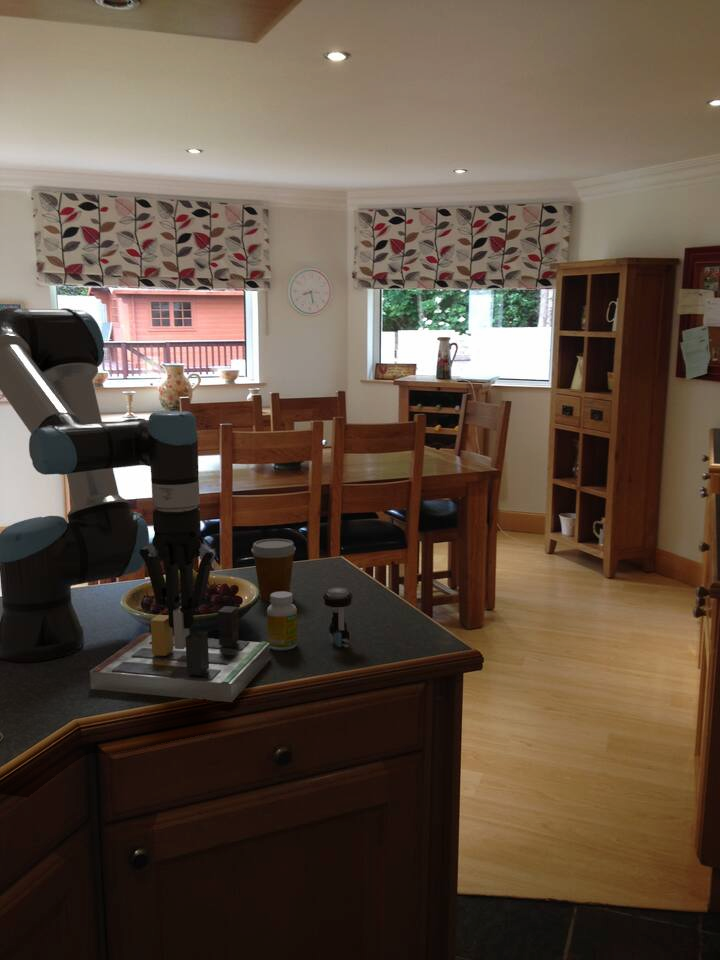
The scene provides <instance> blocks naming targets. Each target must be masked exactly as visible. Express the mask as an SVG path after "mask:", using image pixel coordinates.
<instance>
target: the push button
mask: <svg viewBox="0 0 720 960" xmlns="http://www.w3.org/2000/svg"><path fill="white" fill-rule="evenodd" d="M322 596H323V597H322V598H323V600H324V605H325V606H326V607H328V608H330V609H332V610H331V614H332V615H331V616H332V617H331V622H330V623H329V626H328V627H329V629H328V630H329V635H328V638H329V643H330V644H332V645H333V644H334V645H335V646H336V647H338V648H341V647H344V648H349V644H348V643H349V642H350V631H349V630H348V629H347V625H348V624H347V622H346V620H345V609H346V608H347V607H349V606H350V605H351V604H352V600H353V594H352V593H351V592H349V591H348V588H345V587H330V588H329V589H328V590H327V592H325V593H324V594H323V595H322Z"/></svg>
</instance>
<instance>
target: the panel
mask: <svg viewBox="0 0 720 960" xmlns="http://www.w3.org/2000/svg"><path fill="white" fill-rule="evenodd" d="M238 611H239V609H238V606H231V605H230V606H229V605H227V606H226V605H224V606H223V607H222V608H220V609H219V610H218V611H217V622H218V626H217V627H218V639H217V638H209V635H208V633H209V631H208V632H207V631H199V630H198V631H197V630H193V631H192V632H189V635H188V636H187V637H185V638H186V647H185V648H184V649H175V643H174V635H173V649H174V650H172V651H171V652H170V653H169V654H167V655H166V656H161V655H152V639H151V632H144V633H141V635H139V636H137V637H136V638H134V640H132V641H130V642H129V643H128V644H126V645H125V646H123V647H122V648H121V649H119V650H118V651H117V652H115V653H114V654H112V655H111V656H109V657H108V658H107V659H105V660H104V661H102V662H101V663H99V664H98V665H96V666H95V667H94V668H92V669H91V670H90V671H89V679H90V680H89V682H90V690H98V691H106V692H107V691H109V692H119V693H129V694H140V695H151V696H162V697H172V698H180V699H181V698H184V699H192V698H201V699H200V700H203V699H206V700H205V701H216V702H227V703H229V702H230V703H233V701H235V700H236V698H237V697H238V696H239V695H240V694H241V693H242V691H243V690H244V689H245V688H246V687H247V686H248V685H249V683H251V682H252V681H253V679H254V678H255V677H256V675H258V674H259V672H260V671H261V670H262V669H263V668H264V667H265V665H267V664H268V663H269V661H270V660H271V652H270V651H271V648H270V643H268V641H263V640H262V641H261V642H259V641H247V640H246V641H245V640H239V639H240V637H239V612H238ZM242 689H243V690H242ZM239 693H240V694H239Z"/></svg>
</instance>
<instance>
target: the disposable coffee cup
mask: <svg viewBox="0 0 720 960" xmlns="http://www.w3.org/2000/svg"><path fill="white" fill-rule="evenodd" d="M250 550H251V553H252V555H253V559H254V566H255V572H256V578H257V584H258V586H257V587H258V591H259V590H260V592H259V595H260V594H261V598H260V599H261V600H263V601H265V600H266V601H267V602H271V601H270V595H271V594H272V593H274V592H280V591H285V592H290V593H291V583H292V582H291V581H292V571H293V565H294V564H293V562H294V555H295V551H296V550H297V549H296V546H295V544H294V542H293V540H290V539H284V538H266V539H261V540H257V541H255V542H253V544H252V548H251V549H250Z"/></svg>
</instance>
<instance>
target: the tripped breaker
mask: <svg viewBox="0 0 720 960" xmlns="http://www.w3.org/2000/svg"><path fill="white" fill-rule="evenodd" d="M150 633H151V639H152V655H161V656H166V655H167V654H169V653H170V652H171V651H172V650H174V649H173V636H174V628H171V627H170V626H169V615H162V614H157V615H156V616H155V617H153V618H152V619H150Z"/></svg>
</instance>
